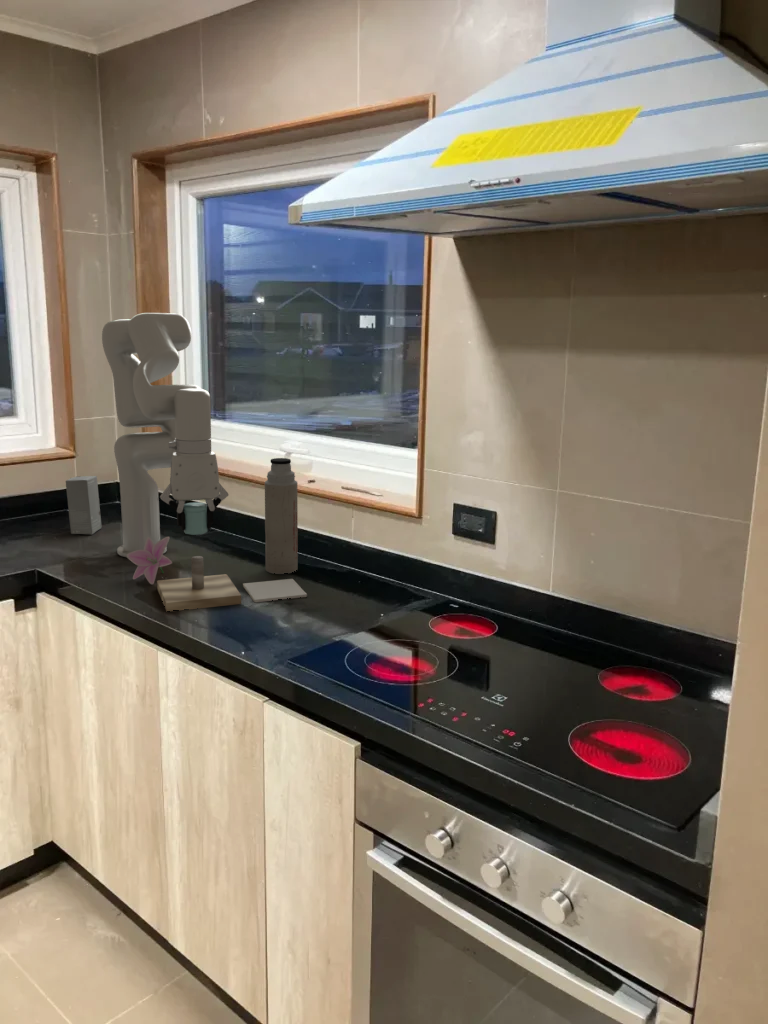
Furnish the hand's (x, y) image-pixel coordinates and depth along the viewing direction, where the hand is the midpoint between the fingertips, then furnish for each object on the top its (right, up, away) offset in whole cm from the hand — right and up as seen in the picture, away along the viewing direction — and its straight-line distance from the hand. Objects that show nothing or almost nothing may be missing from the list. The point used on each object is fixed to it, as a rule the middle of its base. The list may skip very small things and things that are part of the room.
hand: (195, 527), depth 182 cm
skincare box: (-45, -2, +56) cm, 72 cm away
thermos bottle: (+16, -11, +24) cm, 31 cm away
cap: (0, -1, 0) cm, 1 cm away
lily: (-14, -13, +16) cm, 25 cm away
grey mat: (+16, -15, +8) cm, 24 cm away
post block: (0, -16, +3) cm, 16 cm away
